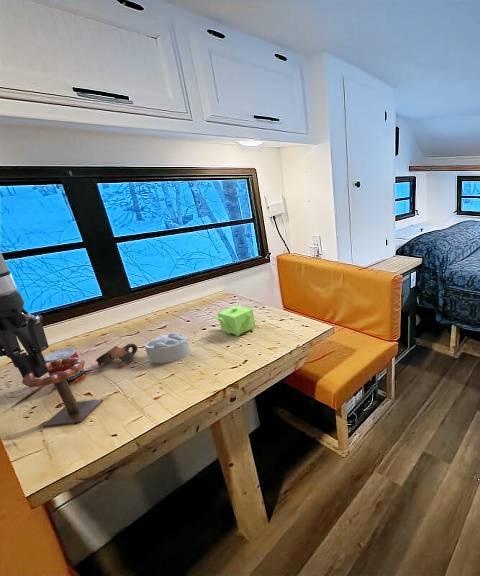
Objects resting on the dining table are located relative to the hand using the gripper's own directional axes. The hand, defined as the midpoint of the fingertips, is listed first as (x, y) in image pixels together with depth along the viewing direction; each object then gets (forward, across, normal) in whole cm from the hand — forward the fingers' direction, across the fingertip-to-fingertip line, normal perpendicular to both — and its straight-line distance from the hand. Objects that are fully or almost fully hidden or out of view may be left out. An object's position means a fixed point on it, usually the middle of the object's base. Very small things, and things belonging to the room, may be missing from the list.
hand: (36, 375), depth 82 cm
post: (+15, -5, 0) cm, 15 cm away
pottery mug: (+15, -1, -27) cm, 31 cm away
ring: (-1, -5, 0) cm, 5 cm away
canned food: (+15, +9, -18) cm, 25 cm away
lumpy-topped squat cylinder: (+15, -18, -28) cm, 36 cm away
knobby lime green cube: (+15, -37, -45) cm, 60 cm away
